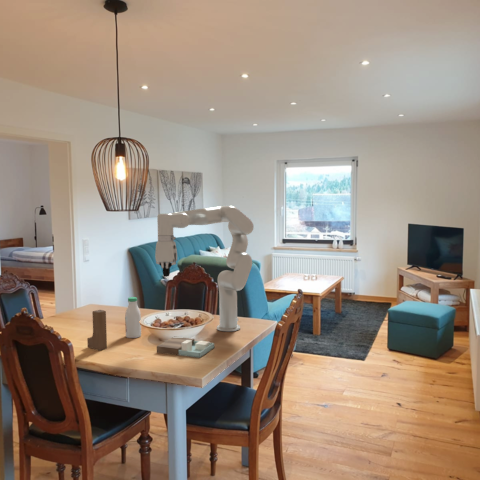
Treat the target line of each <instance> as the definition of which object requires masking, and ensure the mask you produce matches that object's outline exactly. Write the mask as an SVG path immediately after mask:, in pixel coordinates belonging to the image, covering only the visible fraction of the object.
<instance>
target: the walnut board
mask: <svg viewBox="0 0 480 480" xmlns="http://www.w3.org/2000/svg"><path fill="white" fill-rule="evenodd" d="M186 340H192V345H194V341H196V340H195V338H191V337H190V338H189V337H183V338H173V337H171V338H169V339H167V340H165V341H163V342H162V343H160V344H158V345H157V346H156V353H158V354H166V355H173V356H180V355H179V354H178V350H182V342H184V341H186Z"/></svg>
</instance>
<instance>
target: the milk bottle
mask: <svg viewBox="0 0 480 480" xmlns="http://www.w3.org/2000/svg"><path fill="white" fill-rule="evenodd" d="M127 302H128V305H127V308H126V311H125V317H124V319H125V324H124V325H125V338H127V339H135V338H136V339H137V338H140V337H141V336H142V324H141V325H140V323H139V321H140V320H141V321H142V316H141V314H142V313H141V310H140V308H139V306H138V297H136V296H131V297H130V296H129V297H128V298H127Z"/></svg>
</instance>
